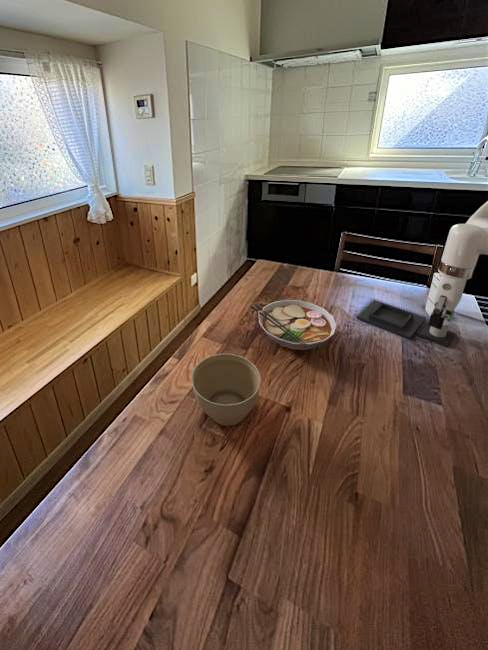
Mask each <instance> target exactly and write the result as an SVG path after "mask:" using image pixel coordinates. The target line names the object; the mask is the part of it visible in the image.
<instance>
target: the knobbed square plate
mask: <svg viewBox="0 0 488 650" xmlns="http://www.w3.org/2000/svg"><path fill="white" fill-rule="evenodd" d="M449 325H450V322H449V320H446V319H444V322H443V325H442V328H441V329H437V328H434V327H432V326H429V325H428V323H427V324H426V326H425V327H424V328H423V329H422V331H421V332H420V333H419V338H422V339H424V340H427V341H429V342H431V343H434V344H437V345H440V346H442V347H445V348H448V346H449V345H450V343H451V341H452V339H453V338H454V336H455V332H452V331H450V330H448V329H449Z"/></svg>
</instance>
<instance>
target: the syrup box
mask: <svg viewBox="0 0 488 650" xmlns="http://www.w3.org/2000/svg"><path fill="white" fill-rule="evenodd" d="M441 275H442V274H441V273H439V272H434V273H433V277H432V281H431V285H430V288H429V293H428V296H427V301H426V304H425V309H424V310H425V312H426V313H427V315H428V316H429V317H430V316H431V313H432V312H433V309H434V307H435V306H434V305H433V301H434V297H435V294H436V290H437V287H438V284H439V281H440V278H441ZM454 311H455V310H454ZM454 311H452V313H451V315H447V314H445V315H444V317H445V319H446V320H447V321H452V319H453V317H454Z"/></svg>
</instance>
